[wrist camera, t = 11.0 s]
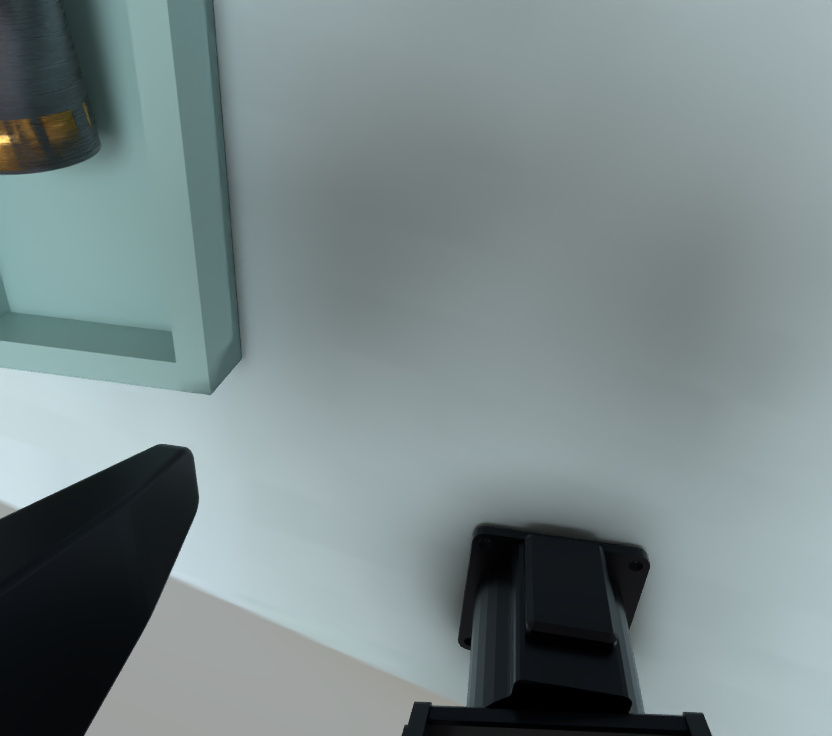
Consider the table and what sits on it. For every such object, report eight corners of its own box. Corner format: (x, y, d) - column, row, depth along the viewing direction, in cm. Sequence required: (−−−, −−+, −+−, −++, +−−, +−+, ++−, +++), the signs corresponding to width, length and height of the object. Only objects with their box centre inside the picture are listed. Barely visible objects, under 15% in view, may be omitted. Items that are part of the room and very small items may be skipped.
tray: (241, 359, 22) (210, 395, 19) (1, 328, 22) (-54, 360, 20) (167, -552, 12) (91, -681, 10) (-245, -544, 13) (-399, -663, 11)
